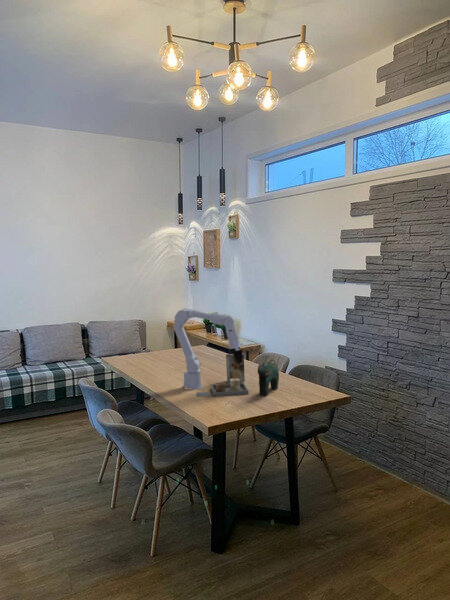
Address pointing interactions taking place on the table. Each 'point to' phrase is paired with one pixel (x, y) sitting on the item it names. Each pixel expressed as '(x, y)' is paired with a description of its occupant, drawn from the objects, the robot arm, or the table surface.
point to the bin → (228, 392)
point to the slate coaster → (203, 394)
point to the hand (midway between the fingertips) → (239, 361)
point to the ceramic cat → (268, 376)
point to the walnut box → (220, 387)
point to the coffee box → (234, 368)
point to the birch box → (235, 384)
